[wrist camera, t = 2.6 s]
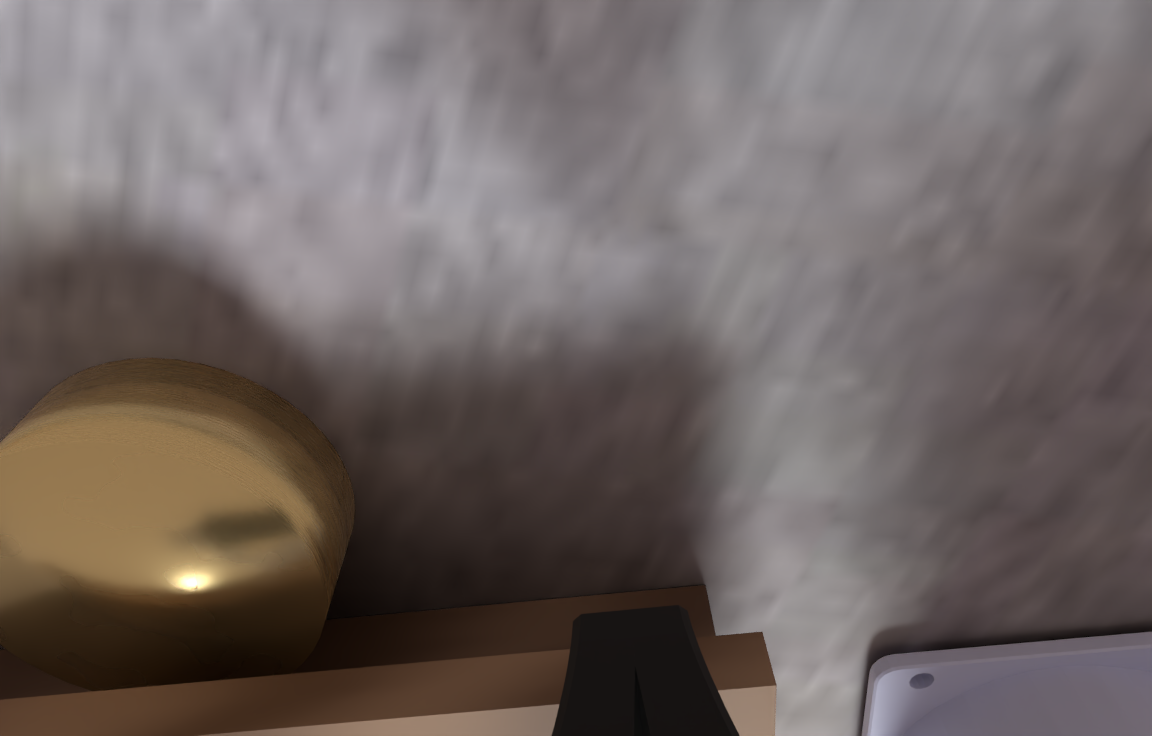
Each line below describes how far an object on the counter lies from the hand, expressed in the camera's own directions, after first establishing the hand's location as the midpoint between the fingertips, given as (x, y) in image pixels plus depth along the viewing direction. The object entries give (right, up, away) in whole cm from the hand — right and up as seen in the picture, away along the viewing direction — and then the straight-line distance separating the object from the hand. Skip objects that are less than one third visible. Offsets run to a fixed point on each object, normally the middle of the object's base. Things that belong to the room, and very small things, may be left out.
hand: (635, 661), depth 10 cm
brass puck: (-8, +1, +5) cm, 9 cm away
